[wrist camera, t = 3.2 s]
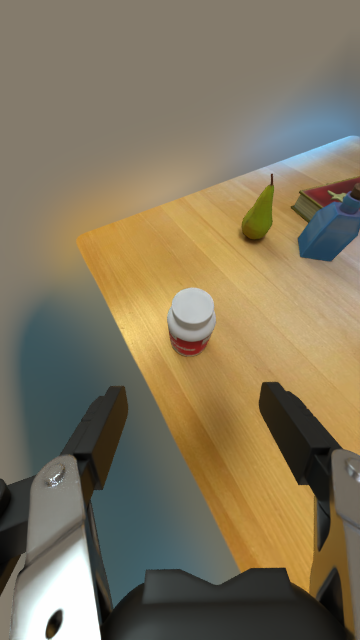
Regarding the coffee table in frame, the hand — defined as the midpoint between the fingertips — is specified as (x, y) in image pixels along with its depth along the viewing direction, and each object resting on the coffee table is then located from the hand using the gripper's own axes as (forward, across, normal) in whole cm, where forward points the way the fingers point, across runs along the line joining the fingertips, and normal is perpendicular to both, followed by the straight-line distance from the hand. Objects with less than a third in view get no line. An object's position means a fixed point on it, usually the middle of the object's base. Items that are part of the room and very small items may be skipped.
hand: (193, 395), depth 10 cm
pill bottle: (+18, +1, -5) cm, 19 cm away
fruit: (+37, +17, +12) cm, 42 cm away
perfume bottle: (+33, +30, +9) cm, 45 cm away
